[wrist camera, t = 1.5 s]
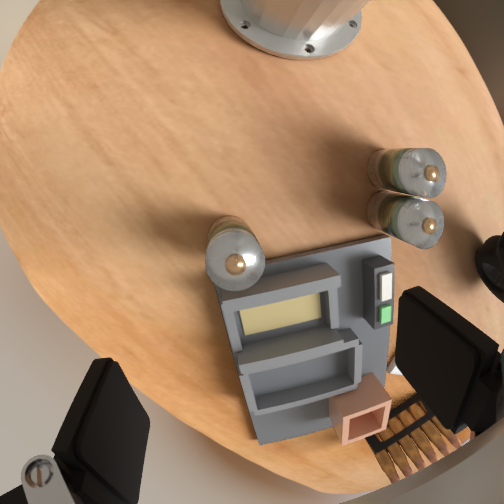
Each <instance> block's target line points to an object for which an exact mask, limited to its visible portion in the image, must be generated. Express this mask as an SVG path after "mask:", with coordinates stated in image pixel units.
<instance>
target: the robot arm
mask: <svg viewBox="0 0 504 504" xmlns="http://www.w3.org/2000/svg"><path fill="white" fill-rule="evenodd" d="M370 1H371V0H220V6H221V10H222V13H223V15H224V18H225V20H226V22H227V23H228V24H229V26H230V27H231V28H232V29H233V31H234V32H235V33H236V34H238V35H239V36H240V37H241V38H242V39H243V40H244V41H246V42H248V43H249V44H251V45H252V46H254V47H256V48H258V49H260V50H262V51H264V52H267V53H269V54H272V55H275V56H279V57H282V58H287V59H294V60H316V59H323V58H326V57H329V56H332V55H335V54H337V53H338V52H340V51H342V50H343V49H345V48H346V47H347V46H348V45H349V44H351V43H352V42H353V40H354V39H355V38H356V36H357V35H358V33H359V31H360V28H361V22H362V13H361V9H362V8H363V7H364V6H365V5H366V4H367V3H368V2H370ZM242 27H245V28H247V29H243V28H242ZM305 50H307V51H309V53H308V52H306V51H305ZM498 347H499V344H497V343H496V342H495V341H494V340H492V339H491V338H490V337H489V336H487V335H486V334H485V333H483V332H482V331H481V330H480V329H478V328H477V327H476V326H474V325H473V324H472V323H470V322H469V321H468V320H466V319H465V318H464V317H462V316H461V315H460V314H458V313H457V312H456V311H454V310H453V309H451V308H450V307H449V306H447V305H446V304H445V303H443V302H442V301H440V300H439V299H438V298H436V297H435V296H433V295H432V294H430V293H429V292H428V291H426V290H425V289H423V288H422V287H420V286H416V287H413V288H411V289H408V290H405V291H404V292H403V293H402V296H401V297H400V298H399V306H398V325H397V338H396V350H395V364H396V366H397V368H398V369H399V371H400V372H401V373H402V374H403V376H404V377H405V378H406V379H407V381H408V382H409V383H410V384H411V386H412V387H413V388H414V389H415V391H416V392H417V393H418V394H419V396H420V397H421V398H422V400H423V401H424V402H425V403H426V405H427V406H428V407H429V409H430V410H431V411H432V412H433V414H434V415H435V416H436V418H437V419H438V420H439V422H440V423H441V424H442V425H443V427H444V428H445V429H447V430H449V429H450V430H451V431H452V433H453V434H454V435H455V434H457V433H458V432H460V431H462V430H463V429H465V428H466V427H467V426H468V427H469V428H470V430H471V434H470V441H469V442H468V443H466V444H465V445H463V446H461V447H460V448H458V449H457V450H455V451H454V452H452V453H450V454H449V455H447V456H445V457H444V458H442V459H440V460H438V461H437V462H435V463H433V464H431V465H429V466H428V467H426V468H424V469H422V470H420V471H418V472H416V473H414V474H412V475H410V476H408V477H406V478H404V479H402V480H399V481H397V482H395V483H393V484H390V485H388V486H386V487H383V488H381V489H379V490H376V491H374V492H371V493H369V494H366V495H363V496H361V497H358V498H355V499H352V500H349V501H347V502H343V503H340V504H504V349H503V351H502V353H501V354H500V353H499V352H498ZM149 429H150V419H149V417H148V415H147V413H146V411H145V410H144V408H143V406H142V405H141V403H140V401H139V400H138V398H137V396H136V394H135V393H134V391H133V389H132V387H131V386H130V384H129V382H128V380H127V378H126V376H125V375H124V373H123V371H122V369H121V367H120V365H119V363H118V362H116V361H113V359H112V358H100V359H95V360H94V361H93V362H92V364H91V366H90V368H89V370H88V372H87V374H86V376H85V378H84V380H83V382H82V384H81V386H80V388H79V390H78V392H77V394H76V396H75V398H74V400H73V402H72V404H71V406H70V409H69V411H68V413H67V415H66V417H65V420H64V422H63V424H62V426H61V428H60V431H59V433H58V435H57V438H56V441H55V443H54V445H53V447H52V452H54V454H55V456H54V458H52V457H50V456H47V455H38V456H35V457H33V458H31V459H30V460H29V461H28V462H27V463H26V464H25V465H24V467H23V469H22V473H21V480H22V485H20V486H18V487H16V488H14V489H13V490H11V491H9V492H7V493H5V494H3V495H2V496H0V504H137V503H138V500H139V491H140V484H141V478H142V471H143V464H144V457H145V451H146V445H147V440H148V433H149Z"/></svg>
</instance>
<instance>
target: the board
mask: <svg viewBox="0 0 504 504" xmlns="http://www.w3.org/2000/svg"><path fill="white" fill-rule="evenodd" d="M215 288H216V292H217V296H218V300H219V304H220V308H221V311H222V315H223V319H224V323H225V327H226V331H227V334H228V338H229V342H230V346H231V349H232V353H233V357H234V360H235V364H236V368H237V371H238V375H239V378H240V382H241V385H242V389H243V392H244V396H245V399H246V402H247V406H248V409H249V412H250V416H251V419H252V422H253V426H254V429H255V432H256V435H257V438H258V442H259V445H263V444H268V443H273V442H277V441H282V440H286V439H290V438H294V437H298V436H302V435H306V434H310V433H313V432H317V431H320V430H324V429H327V428H330V427H333V425H332V423H331V420H330V418H329V397H332V396H335V395H339V394H342V393H345V392H348V391H351V390H354V389H357V386H358V383H359V382H361V376H364V375H367V374H370V373H374V375H375V376H376V377H377V379H378V380H379V382H380V383H381V384H382V386H383V387H384V386H385V378H386V369H387V359H388V348H389V335H390V325H391V324H393V309H394V263H393V262H391V237H390V236H388V235H386V234H385V235H380V236H376V237H371V238H367V239H362V240H358V241H353V242H349V243H344V244H339V245H335V246H330V247H326V248H321V249H316V250H312V251H307V252H303V253H298V254H293V255H289V256H284V257H279V258H274V259H270V260H265V268H264V271H263V273H262V276H261V277H260V279H259V280H258V281H257V282H256V283H255V284H254V285H252V286H251V287H249V288H247V289H244V290H240V291H229V290H225V289H223V288H221V287H219V286H217V285H216V284H215Z"/></svg>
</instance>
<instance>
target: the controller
mask: <svg viewBox="0 0 504 504" xmlns="http://www.w3.org/2000/svg"><path fill="white" fill-rule="evenodd" d="M476 266H477V270H478V273H479V275H480V277H481V279H482V281H483V282H484V284H485V285H486V286H487V287H488V289H489V290H490V291H491V292H492V293H493V294H494V295H495V296H496V297H497V298H498V299H499V300H501V301H502V302H503V303H504V232H503V234H502V235H501V236H500V235H496V236H492V237H490V238H488V239H487V240H486V241H485V243H484V244H483V245H482V246H481V248H480V249H479V251H478V253H477V256H476Z"/></svg>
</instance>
